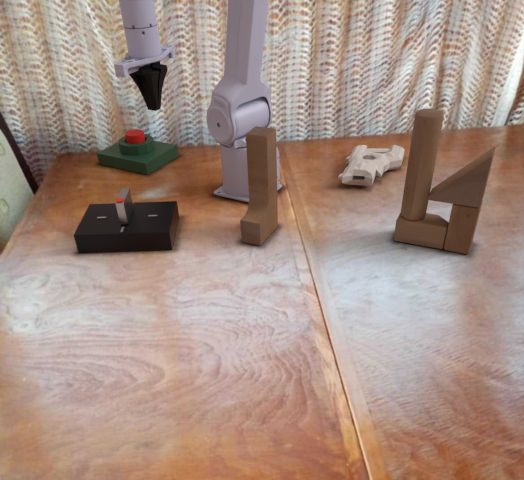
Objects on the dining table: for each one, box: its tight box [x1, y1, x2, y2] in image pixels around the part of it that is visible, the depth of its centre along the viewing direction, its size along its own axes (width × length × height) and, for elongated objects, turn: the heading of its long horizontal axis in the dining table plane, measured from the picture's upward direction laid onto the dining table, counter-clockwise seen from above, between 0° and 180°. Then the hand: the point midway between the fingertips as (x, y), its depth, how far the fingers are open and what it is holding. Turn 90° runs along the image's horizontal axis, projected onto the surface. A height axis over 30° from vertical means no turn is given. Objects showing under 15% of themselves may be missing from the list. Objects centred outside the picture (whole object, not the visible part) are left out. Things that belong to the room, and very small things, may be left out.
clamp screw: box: [114, 187, 134, 225], centre depth 80 cm, size 5×1×4 cm, turn 0°
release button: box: [124, 128, 145, 144], centre depth 103 cm, size 4×4×2 cm
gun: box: [338, 144, 406, 187], centre depth 97 cm, size 18×3×10 cm
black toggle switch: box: [73, 200, 180, 254], centre depth 83 cm, size 14×10×3 cm
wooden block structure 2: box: [393, 107, 497, 255], centre depth 73 cm, size 4×11×18 cm, turn 66°
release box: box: [96, 133, 180, 176], centre depth 105 cm, size 12×10×4 cm
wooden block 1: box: [239, 126, 279, 246], centre depth 78 cm, size 7×3×15 cm, turn 155°
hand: (154, 109), depth 100 cm, fingers closed
